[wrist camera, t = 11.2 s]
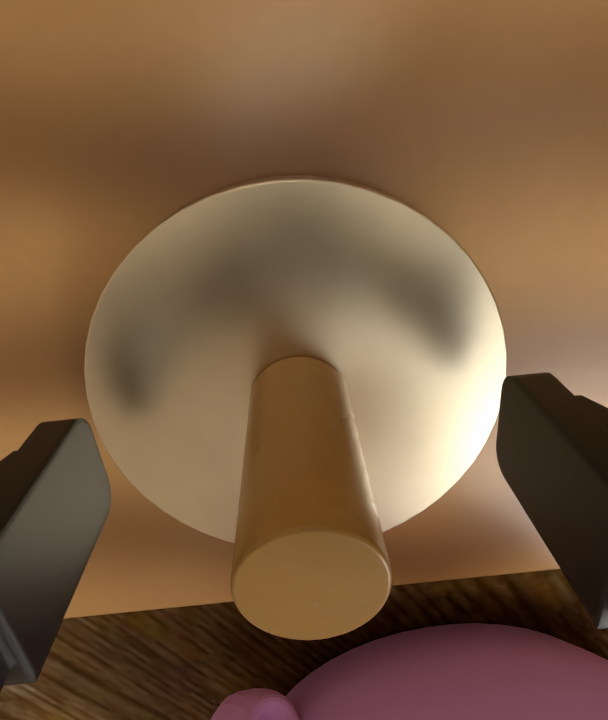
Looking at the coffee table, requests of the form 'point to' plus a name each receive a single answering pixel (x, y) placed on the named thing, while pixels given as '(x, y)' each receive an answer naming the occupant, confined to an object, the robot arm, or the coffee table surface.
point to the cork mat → (300, 157)
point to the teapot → (442, 680)
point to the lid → (297, 384)
